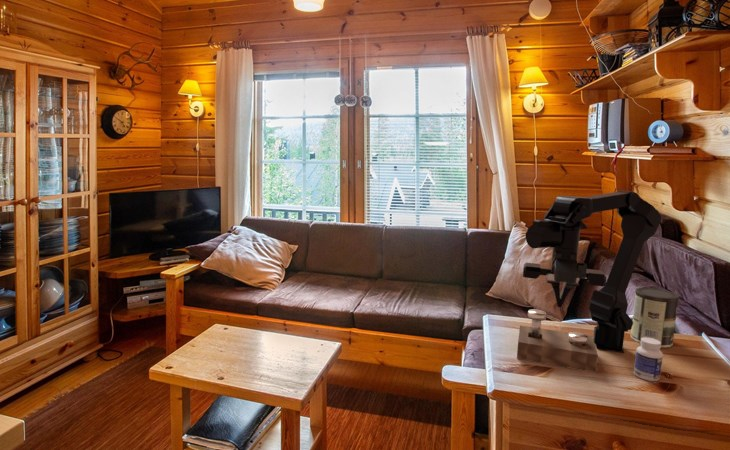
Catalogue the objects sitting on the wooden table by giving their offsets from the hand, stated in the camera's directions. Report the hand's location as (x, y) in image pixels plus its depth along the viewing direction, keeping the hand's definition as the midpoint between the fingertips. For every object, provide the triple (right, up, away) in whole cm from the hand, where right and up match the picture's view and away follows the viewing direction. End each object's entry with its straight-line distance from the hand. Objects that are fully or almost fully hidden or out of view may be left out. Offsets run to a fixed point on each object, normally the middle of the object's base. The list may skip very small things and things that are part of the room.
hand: (559, 306), depth 110 cm
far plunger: (-5, -8, +3) cm, 10 cm away
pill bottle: (+17, -15, -8) cm, 24 cm away
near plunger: (+4, -13, +1) cm, 14 cm away
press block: (0, -13, +2) cm, 13 cm away
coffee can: (+32, -12, +13) cm, 37 cm away
